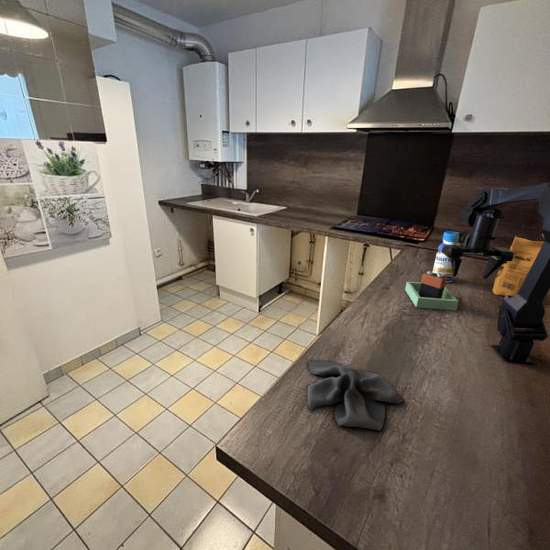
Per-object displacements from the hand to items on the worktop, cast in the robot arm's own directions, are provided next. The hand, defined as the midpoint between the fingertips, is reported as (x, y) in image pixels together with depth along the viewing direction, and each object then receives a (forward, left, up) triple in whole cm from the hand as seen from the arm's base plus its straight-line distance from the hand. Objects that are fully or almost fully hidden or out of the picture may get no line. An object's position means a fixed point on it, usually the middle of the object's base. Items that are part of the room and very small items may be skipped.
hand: (469, 277), depth 95 cm
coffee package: (+16, -25, -12) cm, 32 cm away
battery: (+6, +8, -12) cm, 15 cm away
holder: (+6, +8, -12) cm, 16 cm away
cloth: (-44, +42, -12) cm, 62 cm away
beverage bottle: (+27, -4, -12) cm, 30 cm away
